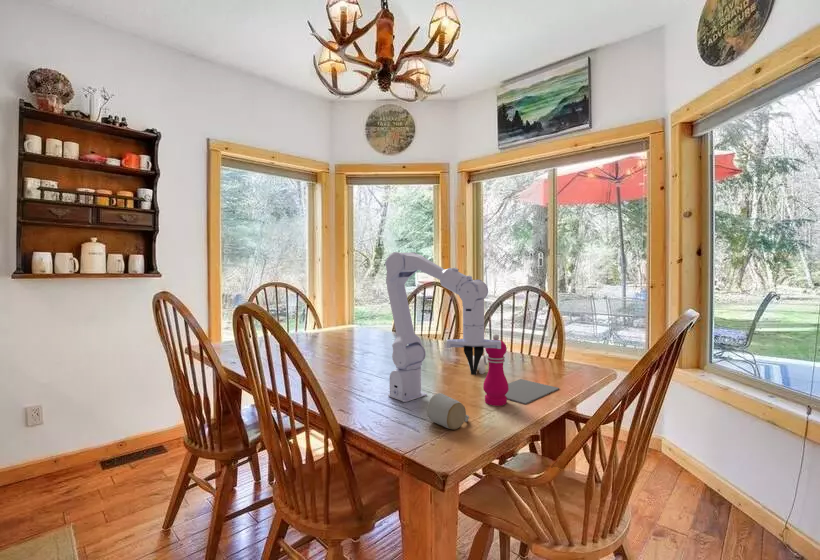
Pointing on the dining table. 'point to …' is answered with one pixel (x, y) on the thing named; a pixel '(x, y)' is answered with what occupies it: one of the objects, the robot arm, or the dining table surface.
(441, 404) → the ceramic mug
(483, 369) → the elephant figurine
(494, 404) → the pepper mill
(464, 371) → the dining table surface
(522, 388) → the mat
